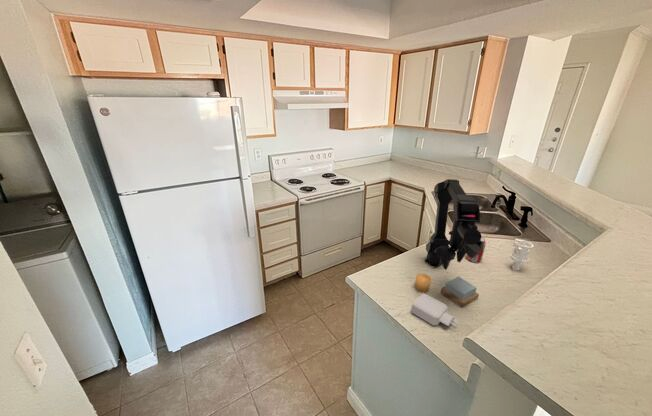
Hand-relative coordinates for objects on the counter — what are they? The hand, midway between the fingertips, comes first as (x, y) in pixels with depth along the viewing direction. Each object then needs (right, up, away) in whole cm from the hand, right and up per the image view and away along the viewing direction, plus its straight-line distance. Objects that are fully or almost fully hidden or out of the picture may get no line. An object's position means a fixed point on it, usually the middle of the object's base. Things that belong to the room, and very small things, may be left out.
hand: (452, 265), depth 106 cm
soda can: (+24, -3, +27) cm, 36 cm away
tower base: (+4, -13, +2) cm, 14 cm away
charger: (-10, -18, -8) cm, 22 cm away
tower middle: (+4, -11, +1) cm, 11 cm away
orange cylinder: (-10, -11, +7) cm, 16 cm away
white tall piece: (+40, -6, +20) cm, 45 cm away
